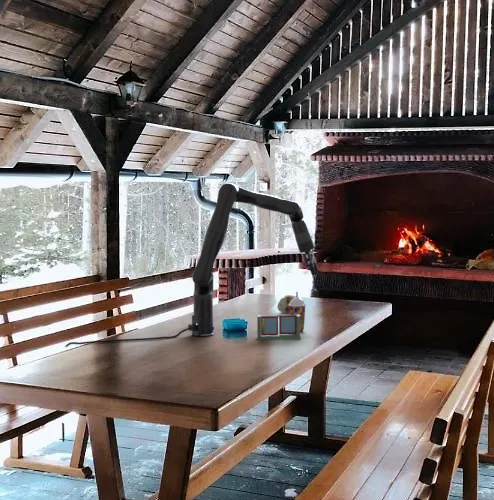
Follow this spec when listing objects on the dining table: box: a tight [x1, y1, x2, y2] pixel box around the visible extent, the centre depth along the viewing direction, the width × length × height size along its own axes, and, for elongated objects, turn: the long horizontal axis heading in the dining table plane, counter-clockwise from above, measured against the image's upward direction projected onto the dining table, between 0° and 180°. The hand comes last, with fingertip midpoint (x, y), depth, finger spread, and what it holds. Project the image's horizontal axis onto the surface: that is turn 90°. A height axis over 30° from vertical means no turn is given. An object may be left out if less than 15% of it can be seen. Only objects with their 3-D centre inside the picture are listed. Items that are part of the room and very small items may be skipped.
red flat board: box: [261, 315, 279, 336], centre depth 342 cm, size 4×8×9 cm, turn 92°
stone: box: [277, 294, 296, 314], centre depth 421 cm, size 17×12×10 cm
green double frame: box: [256, 314, 301, 341], centre depth 345 cm, size 4×20×11 cm, turn 93°
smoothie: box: [288, 291, 306, 334], centre depth 361 cm, size 8×8×20 cm
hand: (315, 273), depth 350 cm, fingers open, 8 cm apart
